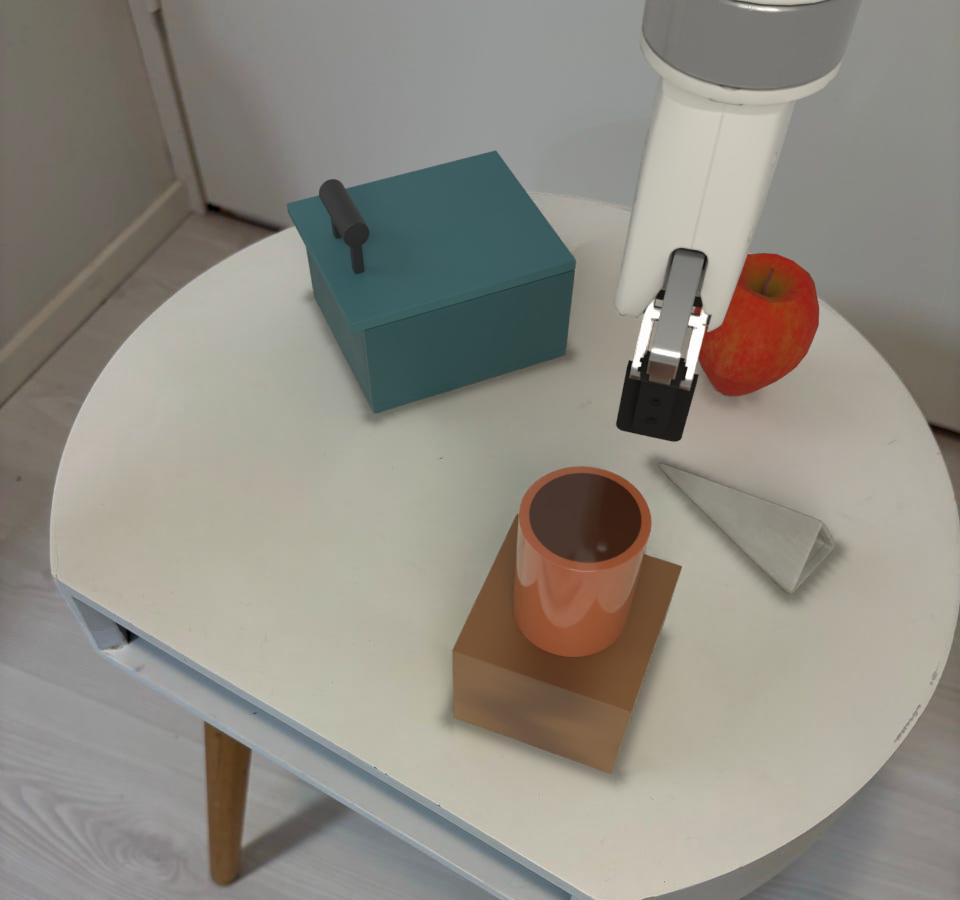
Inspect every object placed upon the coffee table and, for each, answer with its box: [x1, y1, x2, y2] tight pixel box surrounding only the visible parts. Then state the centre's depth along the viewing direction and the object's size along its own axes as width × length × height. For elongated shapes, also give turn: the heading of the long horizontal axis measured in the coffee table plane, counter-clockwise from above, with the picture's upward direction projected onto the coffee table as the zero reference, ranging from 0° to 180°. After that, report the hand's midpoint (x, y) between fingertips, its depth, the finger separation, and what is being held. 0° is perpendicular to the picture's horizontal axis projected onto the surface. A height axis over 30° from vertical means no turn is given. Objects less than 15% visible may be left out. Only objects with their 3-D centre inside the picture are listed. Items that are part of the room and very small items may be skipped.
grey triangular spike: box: [657, 463, 837, 595], centre depth 68 cm, size 6×5×13 cm
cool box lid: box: [286, 150, 577, 333], centre depth 69 cm, size 16×14×5 cm
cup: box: [512, 465, 653, 657], centre depth 51 cm, size 6×6×8 cm
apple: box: [691, 252, 820, 397], centre depth 70 cm, size 9×8×11 cm
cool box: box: [305, 247, 576, 414], centre depth 74 cm, size 16×14×8 cm
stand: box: [451, 513, 683, 775], centre depth 58 cm, size 10×10×8 cm
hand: (665, 362), depth 51 cm, fingers open, 9 cm apart
